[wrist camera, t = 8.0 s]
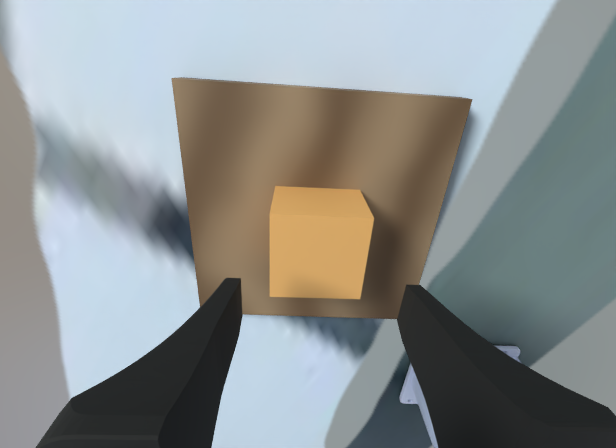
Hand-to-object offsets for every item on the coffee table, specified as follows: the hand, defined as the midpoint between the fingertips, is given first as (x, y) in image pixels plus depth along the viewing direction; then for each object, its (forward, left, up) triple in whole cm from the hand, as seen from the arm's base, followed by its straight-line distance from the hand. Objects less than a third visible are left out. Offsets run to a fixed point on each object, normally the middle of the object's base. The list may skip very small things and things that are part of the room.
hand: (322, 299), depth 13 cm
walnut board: (0, 0, -9) cm, 9 cm away
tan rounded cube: (0, 0, -7) cm, 7 cm away
